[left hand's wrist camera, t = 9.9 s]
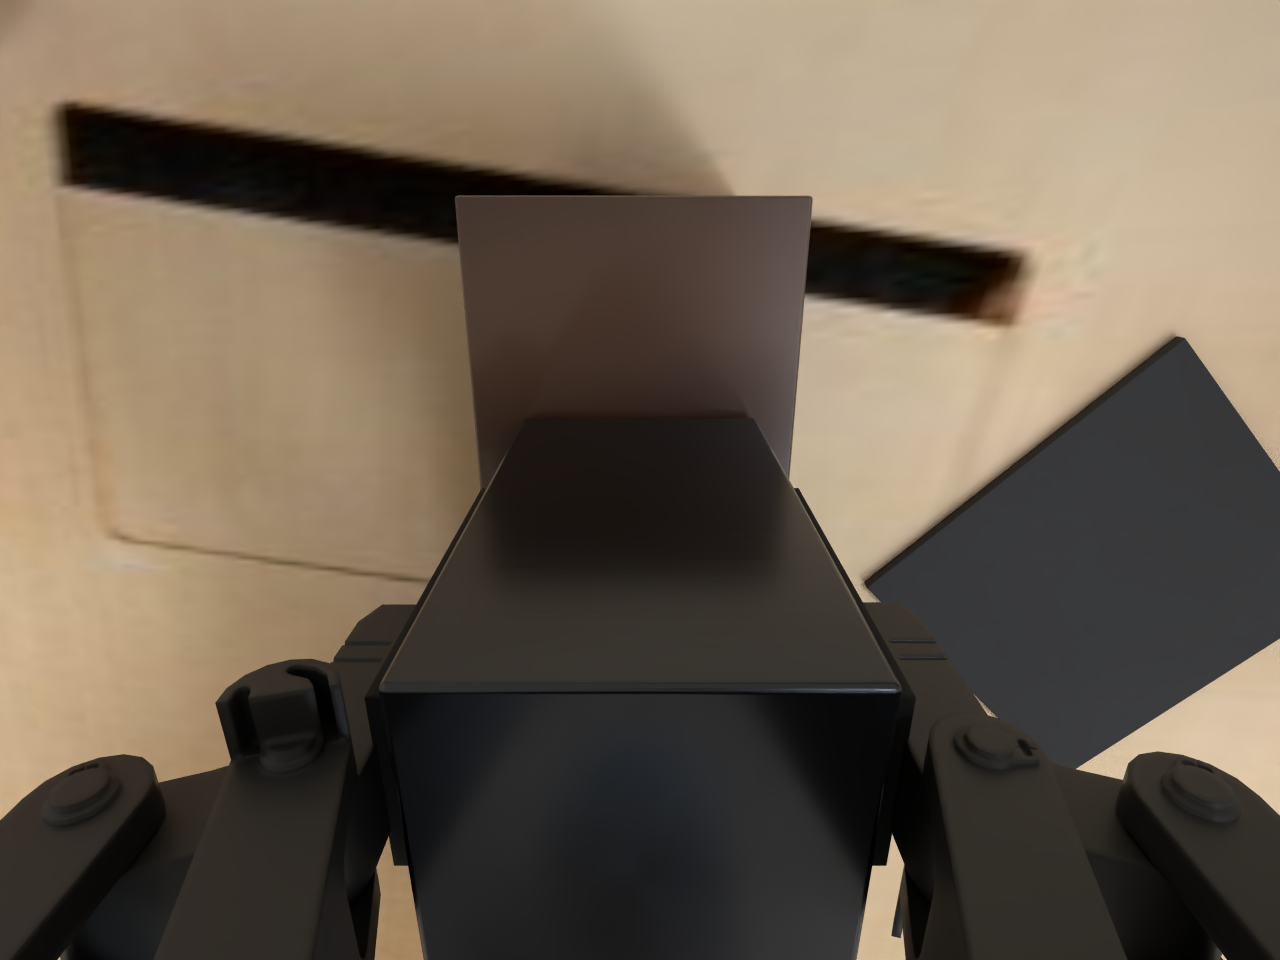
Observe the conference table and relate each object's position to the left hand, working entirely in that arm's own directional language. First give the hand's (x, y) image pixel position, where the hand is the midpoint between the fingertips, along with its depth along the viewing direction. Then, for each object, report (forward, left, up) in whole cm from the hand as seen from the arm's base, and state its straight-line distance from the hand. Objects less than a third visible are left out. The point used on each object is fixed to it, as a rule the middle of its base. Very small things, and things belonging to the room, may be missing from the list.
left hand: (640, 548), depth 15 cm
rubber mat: (-8, +19, -11) cm, 23 cm away
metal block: (0, 0, -1) cm, 1 cm away
